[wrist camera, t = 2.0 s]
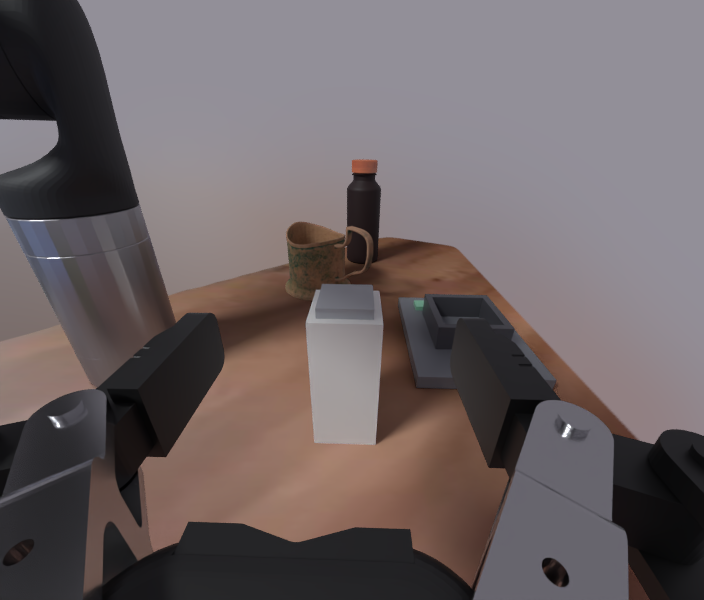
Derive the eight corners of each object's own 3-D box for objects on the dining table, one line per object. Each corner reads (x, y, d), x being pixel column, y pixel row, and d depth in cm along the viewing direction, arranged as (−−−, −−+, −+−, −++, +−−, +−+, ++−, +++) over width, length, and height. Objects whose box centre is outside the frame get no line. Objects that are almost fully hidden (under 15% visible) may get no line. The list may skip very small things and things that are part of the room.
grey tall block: (314, 442, 26) (304, 312, 20) (321, 397, 30) (315, 280, 24) (375, 444, 25) (384, 314, 20) (373, 398, 30) (379, 281, 24)
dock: (551, 391, 31) (566, 356, 29) (416, 387, 31) (421, 353, 29) (487, 307, 47) (493, 281, 45) (398, 305, 47) (400, 279, 45)
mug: (343, 322, 43) (342, 240, 38) (272, 286, 54) (264, 218, 48) (390, 296, 51) (396, 224, 45) (320, 269, 61) (318, 209, 56)
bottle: (341, 260, 66) (340, 160, 57) (356, 252, 71) (358, 159, 62) (368, 266, 63) (372, 161, 54) (382, 257, 68) (388, 160, 59)
